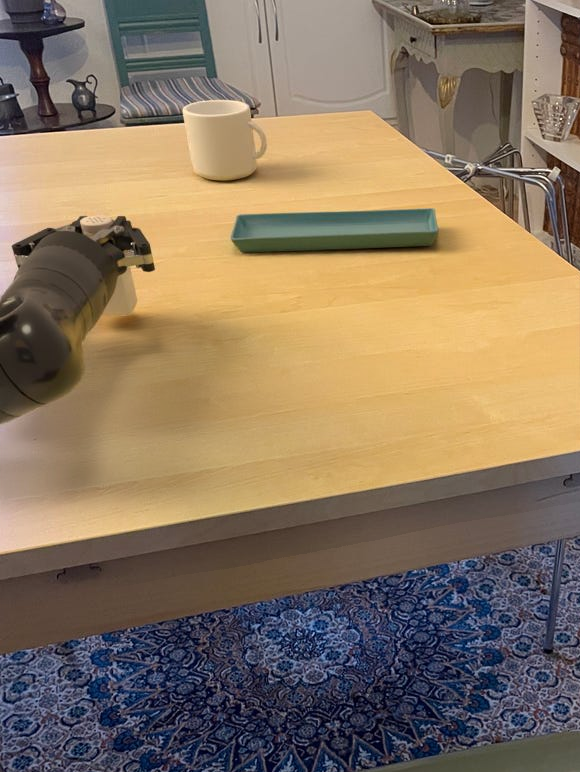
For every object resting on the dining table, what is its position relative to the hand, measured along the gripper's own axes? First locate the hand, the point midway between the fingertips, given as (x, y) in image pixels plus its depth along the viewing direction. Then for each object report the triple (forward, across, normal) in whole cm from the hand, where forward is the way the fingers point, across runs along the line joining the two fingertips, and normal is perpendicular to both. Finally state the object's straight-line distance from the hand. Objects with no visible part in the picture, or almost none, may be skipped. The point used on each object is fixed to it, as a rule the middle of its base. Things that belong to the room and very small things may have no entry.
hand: (105, 225), depth 99 cm
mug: (+51, -6, +9) cm, 52 cm away
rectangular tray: (+21, -23, +9) cm, 32 cm away
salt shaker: (-3, 0, +8) cm, 9 cm away
